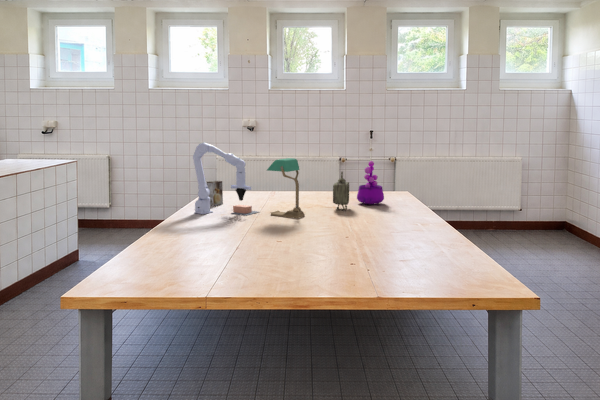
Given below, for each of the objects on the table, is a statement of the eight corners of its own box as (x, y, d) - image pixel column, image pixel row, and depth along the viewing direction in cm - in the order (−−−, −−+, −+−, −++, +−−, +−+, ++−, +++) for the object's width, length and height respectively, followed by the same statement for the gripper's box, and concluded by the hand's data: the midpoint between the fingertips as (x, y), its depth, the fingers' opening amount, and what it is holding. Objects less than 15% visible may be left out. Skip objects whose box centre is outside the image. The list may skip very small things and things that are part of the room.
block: (233, 212, 359) (246, 213, 354) (233, 205, 358) (246, 207, 353) (238, 210, 364) (251, 212, 359) (238, 204, 364) (251, 205, 359)
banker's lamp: (294, 219, 338) (294, 160, 332) (265, 216, 348) (265, 159, 343) (307, 215, 351) (307, 158, 346) (279, 212, 362) (279, 157, 356)
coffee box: (216, 203, 396) (216, 180, 393) (223, 204, 392) (222, 181, 389) (206, 204, 389) (206, 181, 386) (213, 205, 385) (213, 182, 382)
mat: (246, 215, 349) (246, 215, 349) (230, 213, 355) (230, 213, 355) (259, 212, 361) (259, 211, 361) (244, 210, 367) (244, 209, 367)
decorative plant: (376, 207, 383) (377, 162, 378) (352, 204, 393) (352, 161, 388) (388, 203, 398) (389, 160, 394) (364, 200, 408) (365, 159, 404)
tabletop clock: (346, 211, 366) (347, 172, 362) (332, 210, 368) (332, 172, 364) (349, 207, 380) (349, 170, 376) (335, 207, 382) (336, 170, 378)
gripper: (254, 179, 356) (254, 200, 358) (235, 177, 363) (235, 198, 365) (247, 180, 350) (247, 201, 352) (228, 178, 357) (228, 200, 359)
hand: (241, 200), depth 358 cm, fingers closed
